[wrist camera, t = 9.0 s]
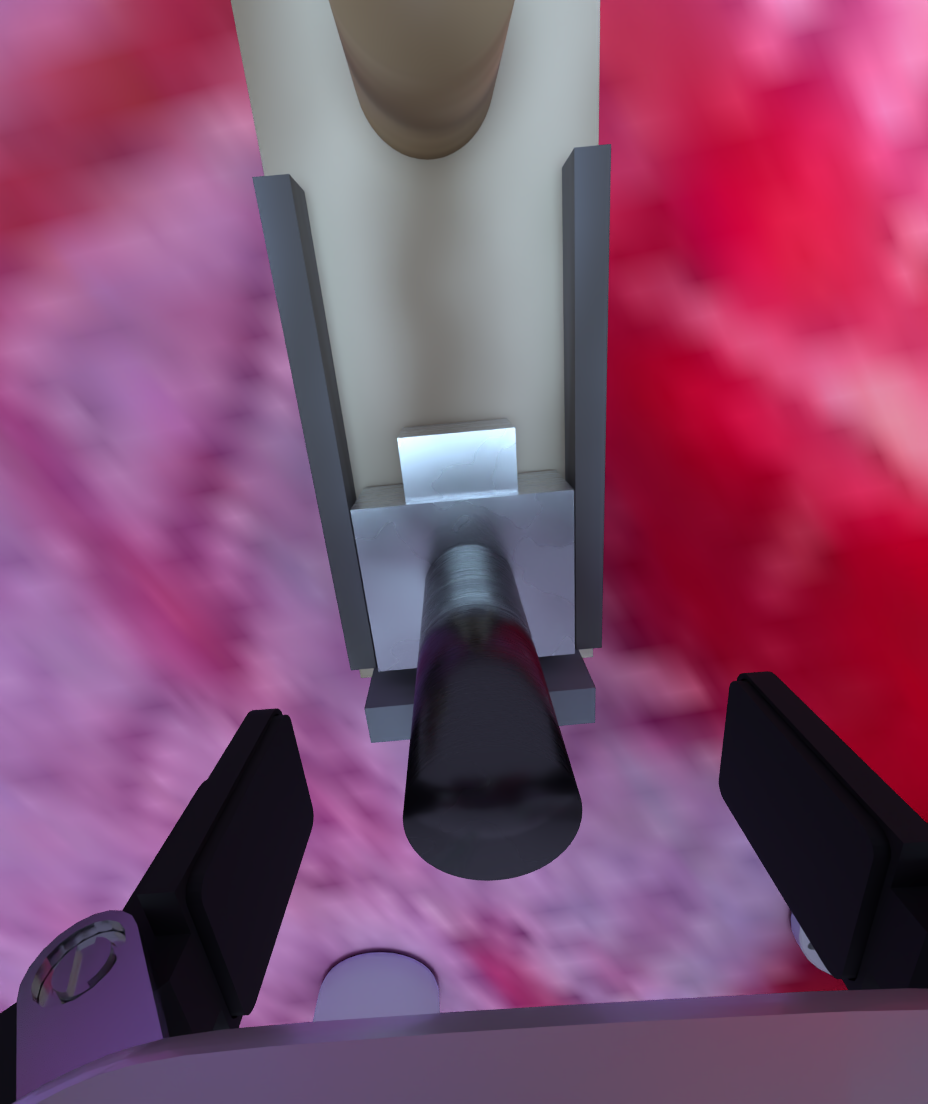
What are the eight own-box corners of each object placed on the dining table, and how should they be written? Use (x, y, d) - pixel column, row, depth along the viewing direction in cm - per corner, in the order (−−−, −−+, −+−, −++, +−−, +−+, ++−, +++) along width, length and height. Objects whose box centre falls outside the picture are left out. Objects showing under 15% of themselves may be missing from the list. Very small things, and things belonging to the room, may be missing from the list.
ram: (554, 413, 18) (736, 514, 7) (558, 615, 20) (687, 917, 10) (354, 432, 18) (201, 563, 7) (387, 631, 20) (319, 950, 10)
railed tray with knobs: (581, -131, 14) (668, -442, 9) (581, 633, 23) (623, 720, 18) (230, -99, 14) (92, -388, 9) (367, 652, 24) (343, 745, 18)
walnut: (473, -45, 13) (494, -255, 9) (509, 135, 15) (544, 37, 10) (331, 5, 14) (277, -174, 9) (381, 178, 15) (357, 100, 10)
